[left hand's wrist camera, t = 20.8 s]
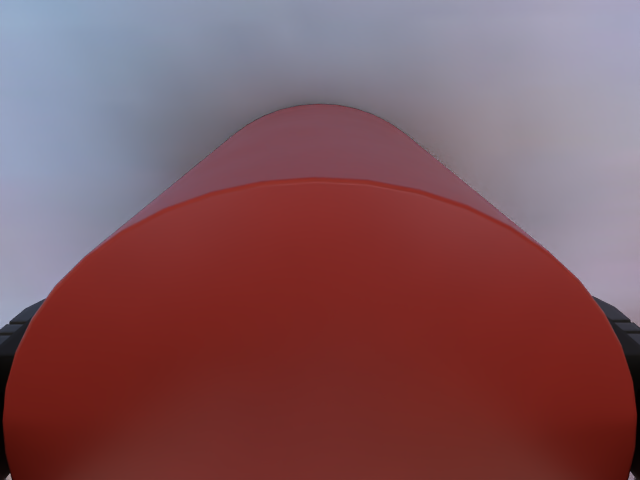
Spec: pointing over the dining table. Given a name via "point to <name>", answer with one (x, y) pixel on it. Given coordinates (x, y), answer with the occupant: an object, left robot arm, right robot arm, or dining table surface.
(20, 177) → the dining table surface
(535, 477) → the canister
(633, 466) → the left robot arm
